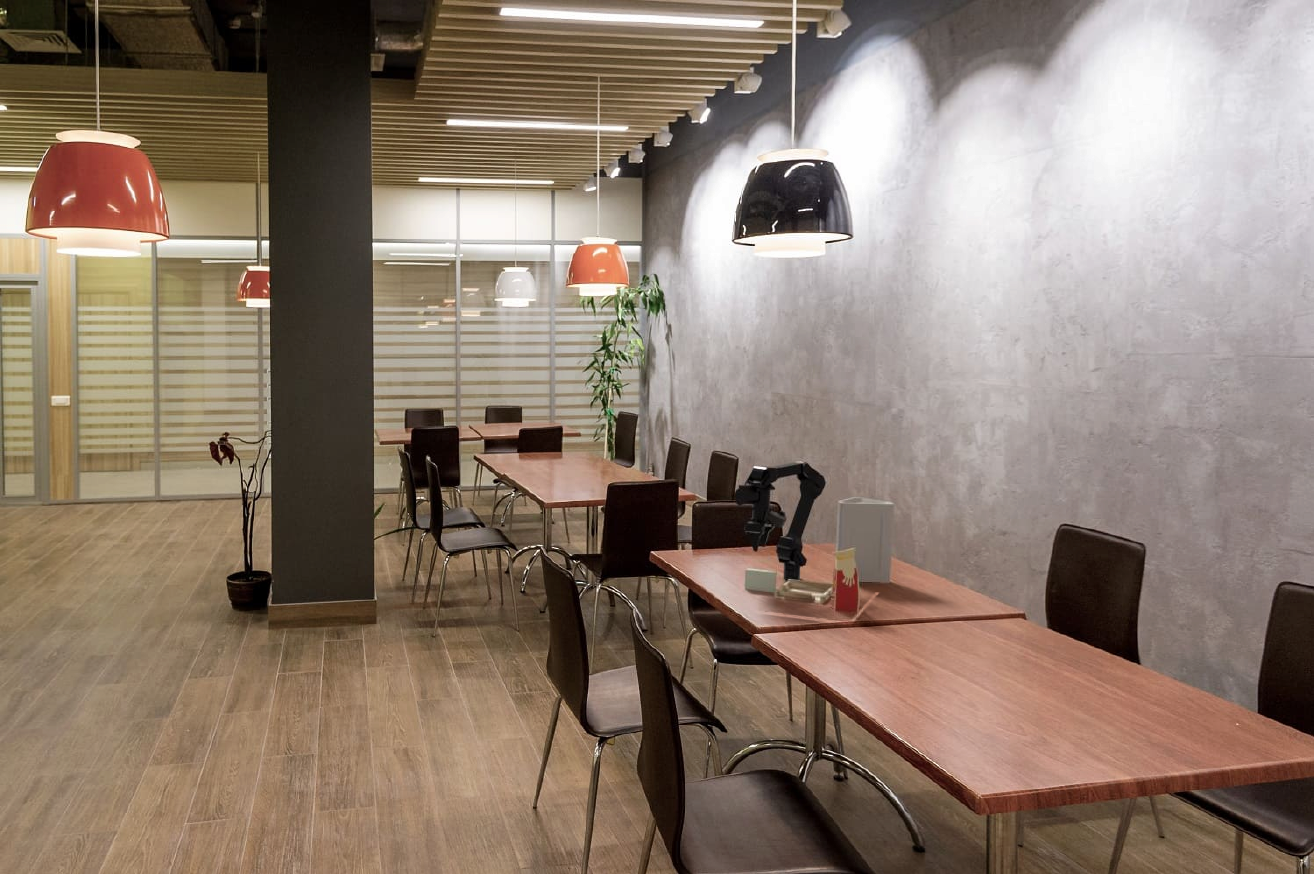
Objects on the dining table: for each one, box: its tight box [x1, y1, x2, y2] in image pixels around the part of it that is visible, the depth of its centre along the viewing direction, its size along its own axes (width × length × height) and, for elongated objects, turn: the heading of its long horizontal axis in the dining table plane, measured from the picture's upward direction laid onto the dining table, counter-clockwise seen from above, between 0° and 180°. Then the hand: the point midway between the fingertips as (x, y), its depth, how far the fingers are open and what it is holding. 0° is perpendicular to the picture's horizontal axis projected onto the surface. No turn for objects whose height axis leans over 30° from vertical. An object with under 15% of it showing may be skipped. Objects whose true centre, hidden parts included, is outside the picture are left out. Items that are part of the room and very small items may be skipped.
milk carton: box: [829, 548, 861, 614], centre depth 330 cm, size 9×9×20 cm
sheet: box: [744, 567, 778, 593], centre depth 351 cm, size 2×10×7 cm, turn 68°
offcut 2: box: [784, 596, 815, 603], centre depth 340 cm, size 4×9×1 cm, turn 68°
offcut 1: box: [785, 591, 812, 598], centre depth 340 cm, size 4×8×1 cm, turn 74°
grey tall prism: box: [834, 497, 895, 583], centre depth 378 cm, size 19×15×28 cm
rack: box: [773, 579, 833, 604], centre depth 347 cm, size 18×16×4 cm
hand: (759, 549), depth 359 cm, fingers open, 9 cm apart
